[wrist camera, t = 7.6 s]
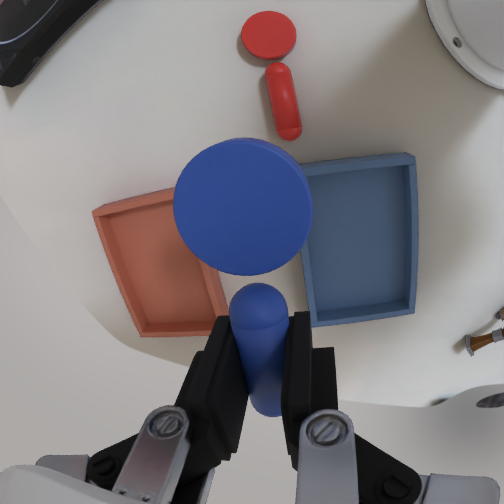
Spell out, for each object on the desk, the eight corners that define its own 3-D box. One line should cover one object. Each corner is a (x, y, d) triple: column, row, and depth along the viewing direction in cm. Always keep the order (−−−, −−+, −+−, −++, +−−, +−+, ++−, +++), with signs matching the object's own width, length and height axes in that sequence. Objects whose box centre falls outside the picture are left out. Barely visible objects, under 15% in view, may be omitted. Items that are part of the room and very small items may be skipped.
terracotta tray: (103, 204, 26) (91, 211, 24) (195, 182, 24) (186, 188, 22) (148, 325, 31) (140, 337, 29) (232, 321, 29) (227, 334, 27)
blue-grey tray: (287, 166, 23) (287, 170, 21) (406, 152, 21) (415, 155, 19) (310, 314, 28) (310, 328, 26) (408, 301, 26) (414, 313, 24)
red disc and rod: (238, 20, 18) (234, 13, 17) (289, 11, 18) (289, 3, 16) (265, 144, 22) (263, 146, 21) (317, 136, 21) (318, 137, 20)
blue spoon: (172, 149, 9) (145, 159, 7) (303, 129, 8) (305, 133, 6) (234, 392, 13) (226, 424, 11) (322, 390, 12) (323, 424, 10)
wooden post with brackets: (529, 299, 23) (535, 334, 20) (470, 325, 29) (471, 358, 26) (526, 289, 22) (533, 324, 19) (465, 316, 28) (465, 350, 25)
